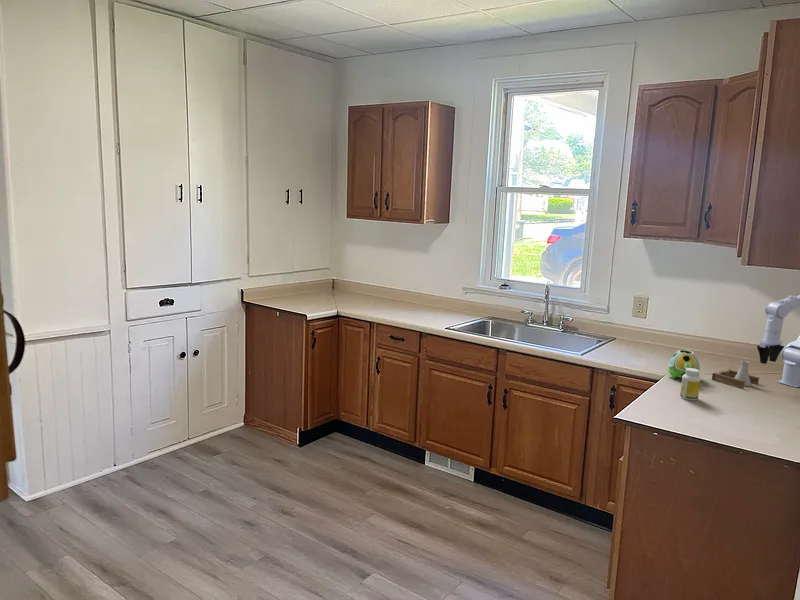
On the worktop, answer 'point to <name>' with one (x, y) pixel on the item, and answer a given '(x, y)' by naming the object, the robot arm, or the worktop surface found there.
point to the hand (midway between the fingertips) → (767, 362)
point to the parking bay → (732, 378)
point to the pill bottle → (690, 384)
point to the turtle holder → (682, 363)
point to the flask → (744, 373)
